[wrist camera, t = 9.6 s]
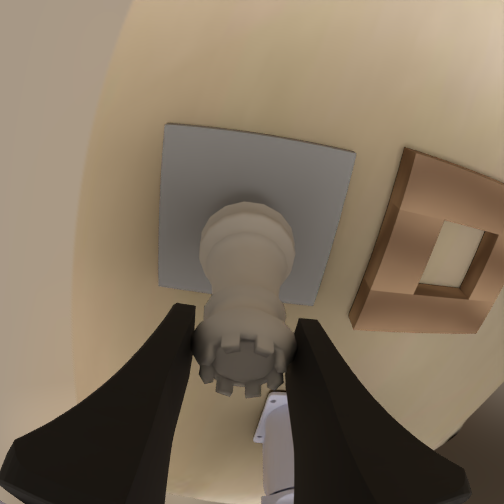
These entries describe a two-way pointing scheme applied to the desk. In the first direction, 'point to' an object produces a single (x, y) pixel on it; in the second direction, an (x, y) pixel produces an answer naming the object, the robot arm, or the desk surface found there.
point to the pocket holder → (421, 246)
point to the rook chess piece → (245, 299)
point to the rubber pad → (248, 199)
